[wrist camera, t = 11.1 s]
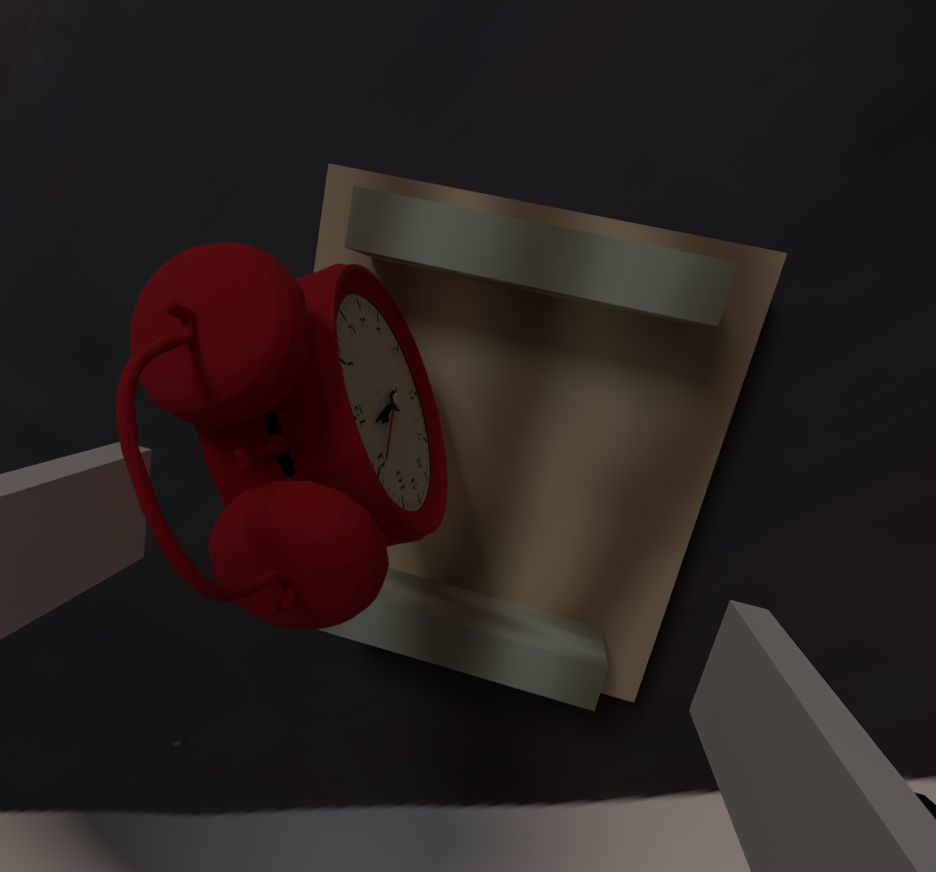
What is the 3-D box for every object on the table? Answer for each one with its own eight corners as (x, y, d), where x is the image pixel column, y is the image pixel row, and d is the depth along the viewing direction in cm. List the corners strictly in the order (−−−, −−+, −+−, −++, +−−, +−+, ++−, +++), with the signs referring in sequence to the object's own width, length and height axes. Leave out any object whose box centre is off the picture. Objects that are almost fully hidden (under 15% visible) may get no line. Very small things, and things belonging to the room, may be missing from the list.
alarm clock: (462, 490, 24) (518, 688, 9) (333, 529, 24) (183, 795, 9) (396, 269, 23) (338, 90, 8) (257, 309, 22) (-73, 201, 8)
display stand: (292, 574, 29) (235, 628, 24) (350, 179, 24) (294, 138, 19) (626, 669, 27) (645, 751, 22) (761, 261, 23) (826, 240, 17)
